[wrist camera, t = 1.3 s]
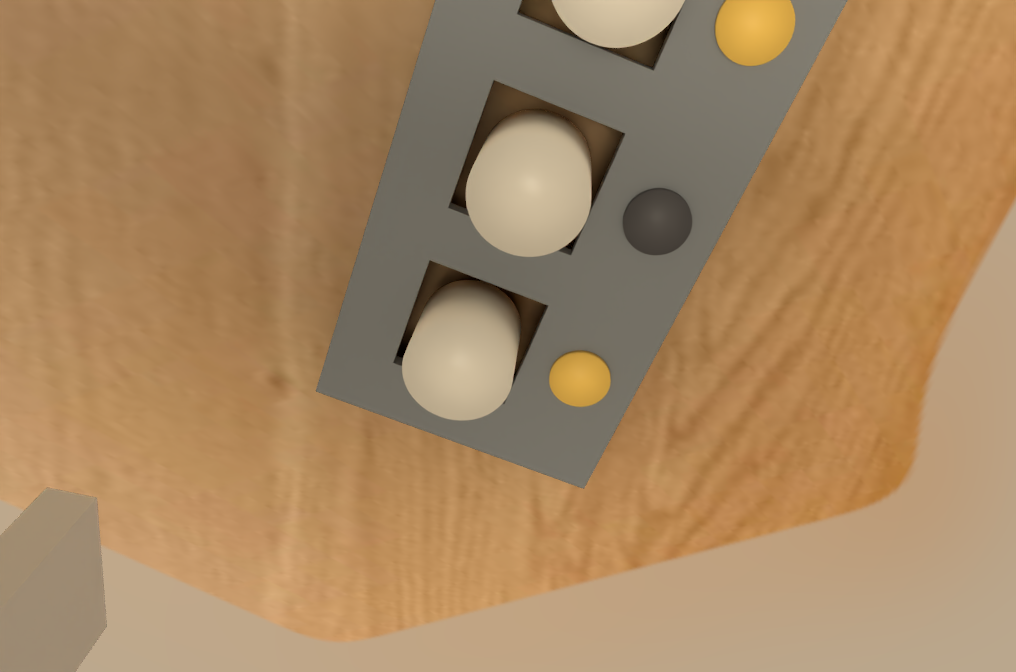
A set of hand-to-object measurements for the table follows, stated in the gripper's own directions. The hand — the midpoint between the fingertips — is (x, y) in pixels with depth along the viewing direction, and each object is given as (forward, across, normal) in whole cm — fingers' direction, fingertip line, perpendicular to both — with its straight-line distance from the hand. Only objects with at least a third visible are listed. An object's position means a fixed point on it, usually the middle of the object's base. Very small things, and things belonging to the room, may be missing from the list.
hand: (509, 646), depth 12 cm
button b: (+20, -1, +2) cm, 20 cm away
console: (+22, 0, +2) cm, 22 cm away
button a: (+20, -2, -5) cm, 20 cm away
